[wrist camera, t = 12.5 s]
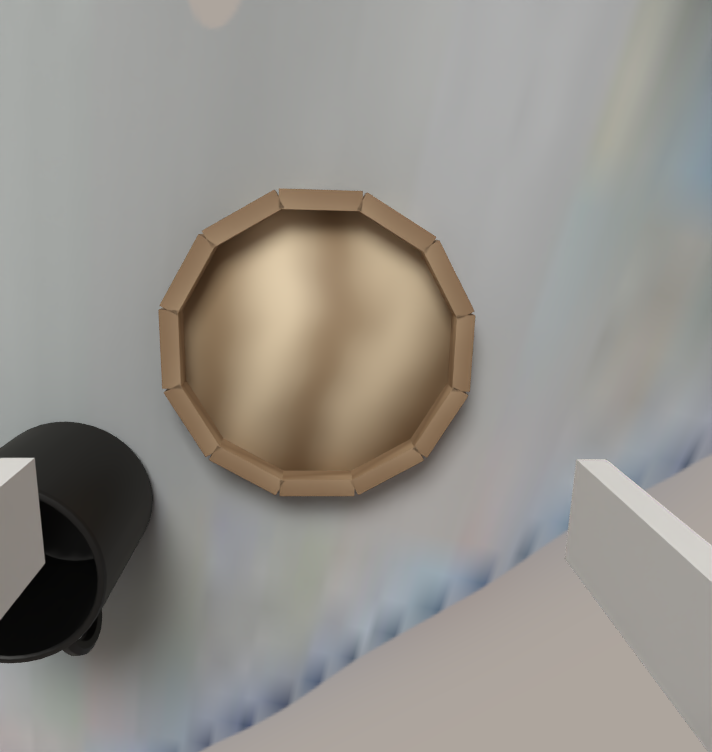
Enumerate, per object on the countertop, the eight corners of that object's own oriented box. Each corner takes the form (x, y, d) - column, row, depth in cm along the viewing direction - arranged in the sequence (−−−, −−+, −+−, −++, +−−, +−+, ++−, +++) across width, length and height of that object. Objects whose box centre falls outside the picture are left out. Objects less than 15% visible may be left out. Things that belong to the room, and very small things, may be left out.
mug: (46, 616, 39) (-32, 729, 31) (-34, 444, 36) (-145, 514, 28) (189, 576, 39) (153, 678, 31) (122, 400, 36) (59, 457, 28)
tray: (176, 480, 38) (167, 496, 36) (162, 186, 34) (152, 184, 32) (454, 480, 39) (462, 495, 37) (473, 196, 35) (483, 194, 33)
